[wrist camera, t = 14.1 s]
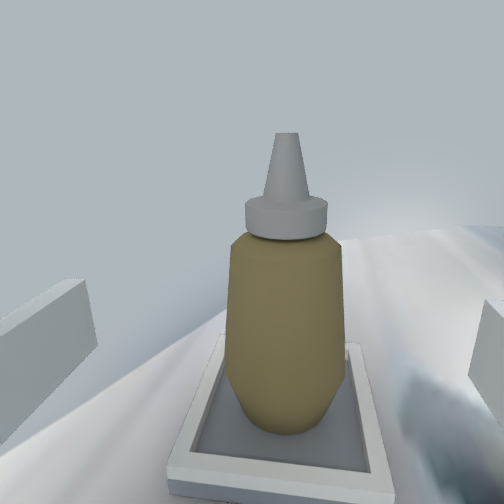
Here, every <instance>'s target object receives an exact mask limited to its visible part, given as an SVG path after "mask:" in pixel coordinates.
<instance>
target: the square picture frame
mask: <svg viewBox="0 0 504 504" xmlns="http://www.w3.org/2000/svg"><path fill="white" fill-rule="evenodd" d="M225 335H226V334H221V335H220V337H219V339H218V342H217V344H216V347H215V349H214V351H213V354H212V356H211V359H210V361H209V363H208V366H207V368H206V370H205V373H204V375H203V378H202V380H201V382H200V385H199V387H198V390H197V392H196V394H195V397H194V399H193V401H192V404H191V406H190V409H189V411H188V413H187V416H186V418H185V420H184V423H183V425H182V428H181V430H180V432H179V435H178V437H177V440H176V442H175V444H174V447H173V449H172V451H171V454H170V456H169V459H168V461H167V463H166V472H167V479H168V486H169V493H170V494H174V495H181V496H188V497H195V498H202V499H210V500H217V501H224V502H231V503H238V504H394V502H395V496H396V494H395V490H394V485H393V481H392V477H391V473H390V469H389V465H388V460H387V456H386V452H385V448H384V444H383V439H382V435H381V431H380V427H379V423H378V419H377V414H376V410H375V406H374V402H373V398H372V393H371V389H370V385H369V381H368V377H367V372H366V368H365V364H364V360H363V356H362V352H361V347H360V343H347V342H345V361H346V362H345V378H344V380H343V382H342V384H341V386H340V387H339V389H338V391H337V393H336V395H335V397H334V399H333V400H332V402H331V404H330V406H329V408H328V410H327V412H326V413H325V415H324V416H323V418H322V419H321V421H320V422H319V423H318V425H317V426H315V427H314V428H312V429H310V430H308V431H306V432H304V433H302V434H294V435H286V436H283V435H279V434H274V433H269V432H265V431H264V430H262V429H260V428H259V427H257V426H255V425H254V424H252V423H251V421H250V420H249V419H248V417H247V416H246V415H245V413H244V412H243V410H242V408H241V406H240V403H239V401H238V399H237V397H236V395H235V393H234V391H233V389H232V387H231V384H230V382H229V380H228V378H227V376H226V374H225V363H224V351H225Z"/></svg>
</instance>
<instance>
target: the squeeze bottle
mask: <svg viewBox="0 0 504 504" xmlns="http://www.w3.org/2000/svg"><path fill="white" fill-rule="evenodd" d="M327 205H328V203H327V201H325V200H323V199H322V198H318V197H313V196H309V191H308V186H307V180H306V174H305V169H304V163H303V158H302V152H301V147H300V141H299V136H298V133H276V135H275V140H274V145H273V150H272V155H271V160H270V165H269V170H268V175H267V180H266V184H265V189H264V194H263V196H259V197H256V198H252V199H250V200H248V201H247V202H246V203H245V214H246V215H245V216H246V229H247V231H248V232H246V233H244V234H243V235H242V236H240V237H239V238H238V239H237V240H236V241H235V242H234V243H233V244H232V245H231V254H230V270H229V286H228V303H227V319H226V335H225V351H224V363H225V374H226V376H227V378H228V380H229V382H230V384H231V387H232V389H233V391H234V393H235V395H236V397H237V399H238V401H239V403H240V406H241V408H242V410H243V412H244V413H245V415H246V416H247V417H248V419H249V420H250V421H251V423H252V424H254V425H255V426H257V427H259V428H260V429H262V430H264V431H265V432H269V433H274V434H279V435H283V436H286V435H294V434H302V433H304V432H306V431H308V430H310V429H312V428H314V427H315V426H317V425H318V423H319V422H320V421H321V419H322V418H323V416H324V415H325V413H326V412H327V410H328V408H329V406H330V404H331V402H332V400H333V399H334V397H335V395H336V393H337V391H338V389H339V387H340V386H341V384H342V382H343V380H344V378H345V362H346V361H345V334H344V307H343V280H342V253H341V245H340V244H339V243H338V242H336V241H335V240H334V239H333V238H332V237H331V236H330V235H328V234H327V233H325V230H326V224H327Z"/></svg>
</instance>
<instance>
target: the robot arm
mask: <svg viewBox="0 0 504 504" xmlns="http://www.w3.org/2000/svg"><path fill="white" fill-rule="evenodd" d="M97 346H98V343H97V338H96V333H95V328H94V323H93V318H92V313H91V308H90V302H89V297H88V292H87V287H86V282H85V279H64V280H62V281H61V282H59V283H58V284H56V285H54V286H53V287H51V288H50V289H48V290H46V291H45V292H43V293H42V294H40V295H38V296H37V297H35V298H34V299H32V300H30V301H29V302H27V303H26V304H24V305H22V306H21V307H19V308H17V309H16V310H14V311H13V312H11V313H9V314H8V315H6V316H4V317H3V318H1V319H0V446H1V445H2V444H3V443H4V442H5V441H6V440H7V438H8V437H9V436H10V435H11V434H12V433H13V432H14V431H15V430H16V429H17V428H18V427H19V426H20V425H21V424H22V423H23V422H24V421H25V420H26V419H27V418H28V417H29V416H30V415H31V414H32V413H33V412H34V411H35V410H36V409H37V408H38V406H39V405H40V404H41V403H42V402H43V401H44V400H45V399H46V398H47V397H48V396H49V395H50V394H51V393H52V392H53V391H54V390H55V389H56V388H57V387H58V386H59V385H60V384H61V383H62V382H63V381H64V379H66V378H67V377H68V375H70V374H71V372H72V371H73V370H74V369H75V368H76V367H77V366H78V365H79V364H80V363H81V362H82V361H83V360H84V359H85V358H86V357H87V356H88V355H89V354H90V353H91V352H92V351H93V350H94V349H95V348H96V347H97ZM468 376H469V378H470V379H471V381H472V383H473V384H474V386H475V387H476V389H477V390H478V392H479V394H480V395H481V397H482V398H483V400H484V401H485V403H486V405H487V406H488V408H489V409H490V411H491V412H492V414H493V416H494V417H495V419H496V420H497V422H498V423H499V425H500V427H501V428H502V430H503V431H504V300H485V302H484V307H483V311H482V315H481V320H480V324H479V329H478V333H477V337H476V342H475V346H474V350H473V355H472V359H471V364H470V368H469V372H468Z"/></svg>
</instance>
